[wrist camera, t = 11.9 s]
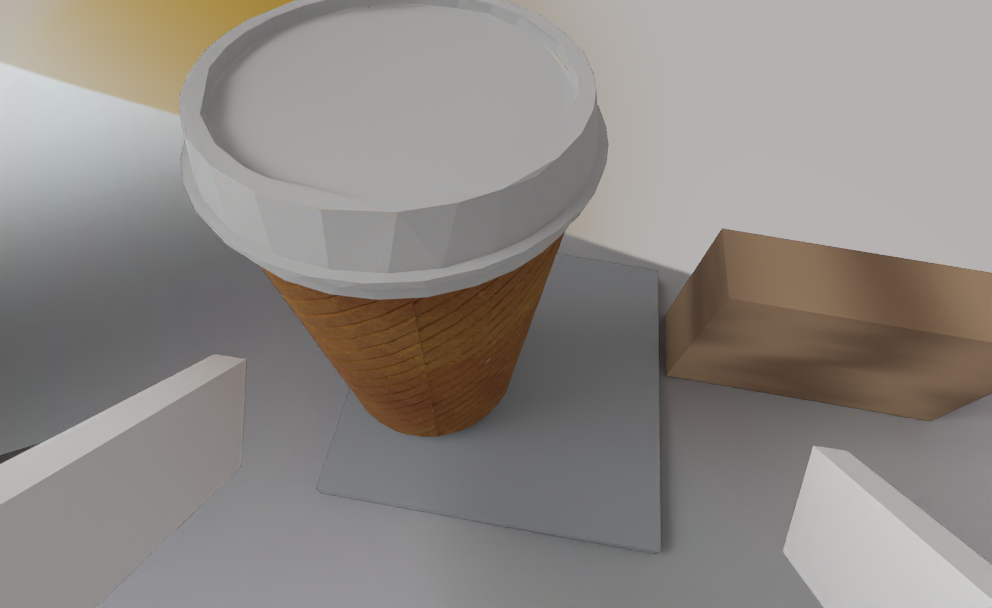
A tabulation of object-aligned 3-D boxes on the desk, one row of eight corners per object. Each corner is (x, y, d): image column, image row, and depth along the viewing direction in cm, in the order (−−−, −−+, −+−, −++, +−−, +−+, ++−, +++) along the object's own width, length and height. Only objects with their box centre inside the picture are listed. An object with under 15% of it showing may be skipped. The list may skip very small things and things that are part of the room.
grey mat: (320, 492, 19) (316, 488, 18) (404, 235, 25) (403, 227, 25) (655, 554, 18) (660, 551, 18) (653, 277, 25) (657, 270, 24)
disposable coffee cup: (376, 540, 17) (241, 328, 7) (273, 330, 21) (108, 32, 12) (604, 394, 20) (719, 117, 11) (472, 240, 25) (468, -50, 15)
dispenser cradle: (630, 851, 14) (727, 968, 9) (638, 311, 24) (688, 222, 19) (1131, 950, 14) (1516, 1129, 9) (937, 361, 23) (1071, 286, 18)
